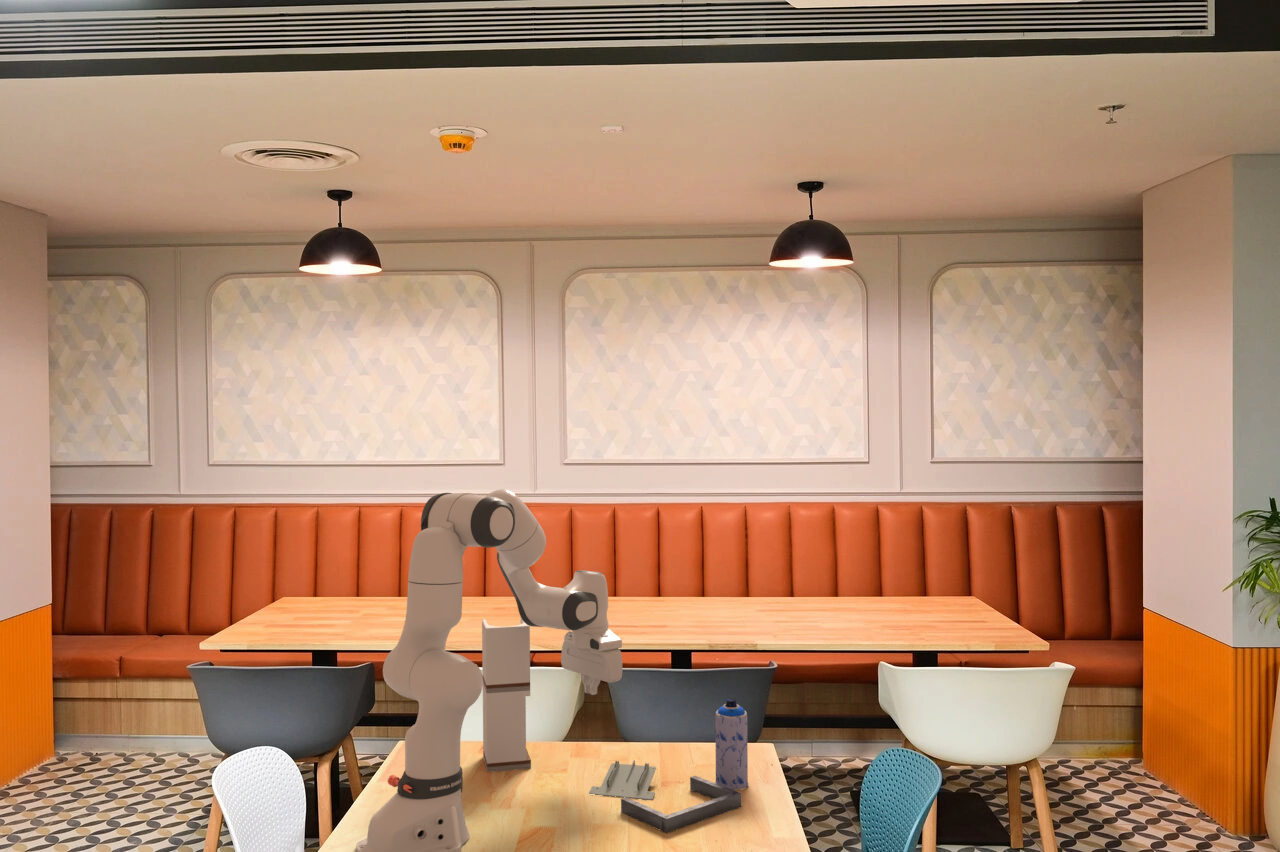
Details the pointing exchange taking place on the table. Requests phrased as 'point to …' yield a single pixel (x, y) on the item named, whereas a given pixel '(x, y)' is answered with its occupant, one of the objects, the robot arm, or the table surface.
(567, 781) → the table surface
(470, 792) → the table surface
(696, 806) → the steel u-shaped frame
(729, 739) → the aerosol can
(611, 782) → the metal bracket
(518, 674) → the banded square pillar
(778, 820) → the table surface
